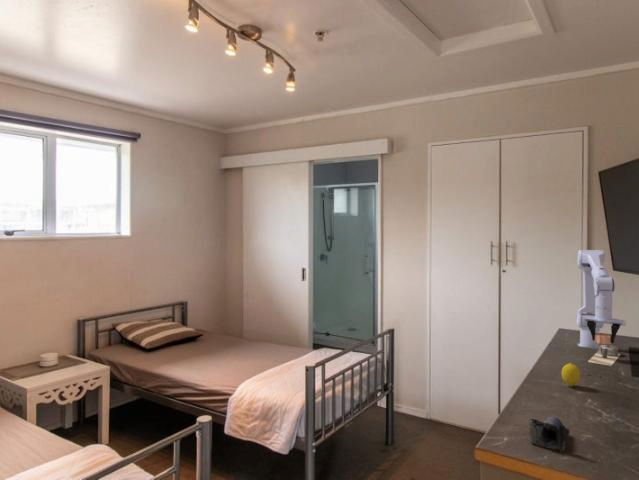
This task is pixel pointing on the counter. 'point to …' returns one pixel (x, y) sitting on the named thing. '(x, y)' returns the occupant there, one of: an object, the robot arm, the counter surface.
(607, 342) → the gear
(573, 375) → the lemon
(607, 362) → the board
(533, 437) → the black camera
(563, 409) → the counter surface
